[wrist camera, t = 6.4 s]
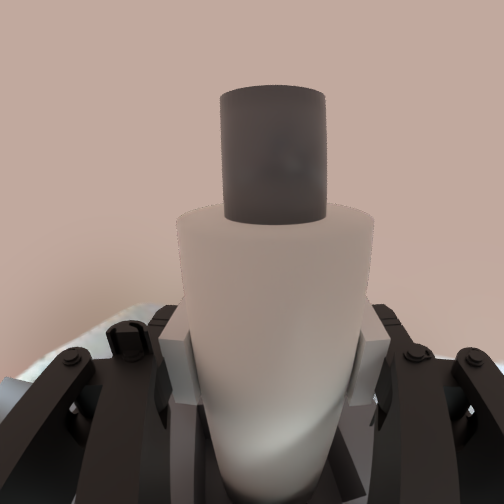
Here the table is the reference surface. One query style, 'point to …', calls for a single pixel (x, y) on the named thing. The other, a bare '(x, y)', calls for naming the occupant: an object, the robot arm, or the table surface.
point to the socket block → (208, 474)
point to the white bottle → (274, 296)
